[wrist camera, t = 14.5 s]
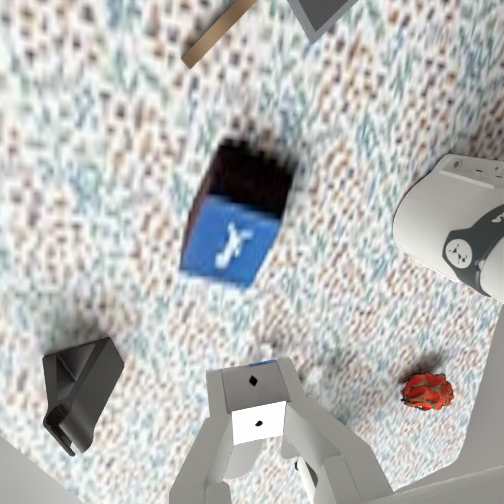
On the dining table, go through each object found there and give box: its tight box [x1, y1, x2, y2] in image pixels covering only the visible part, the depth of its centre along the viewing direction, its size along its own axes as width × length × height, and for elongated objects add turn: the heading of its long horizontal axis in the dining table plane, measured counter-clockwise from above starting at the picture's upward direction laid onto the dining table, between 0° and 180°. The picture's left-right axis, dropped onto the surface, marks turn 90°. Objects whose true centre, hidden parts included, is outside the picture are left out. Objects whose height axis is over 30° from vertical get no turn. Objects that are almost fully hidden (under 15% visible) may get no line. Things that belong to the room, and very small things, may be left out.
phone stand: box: [42, 337, 124, 457], centre depth 40 cm, size 9×6×12 cm, turn 99°
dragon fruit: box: [400, 369, 454, 411], centre depth 69 cm, size 8×8×12 cm
